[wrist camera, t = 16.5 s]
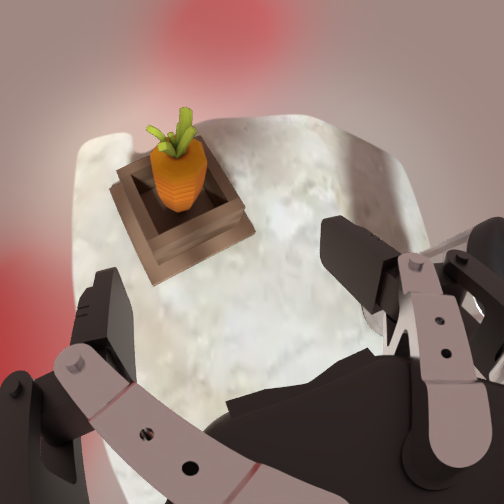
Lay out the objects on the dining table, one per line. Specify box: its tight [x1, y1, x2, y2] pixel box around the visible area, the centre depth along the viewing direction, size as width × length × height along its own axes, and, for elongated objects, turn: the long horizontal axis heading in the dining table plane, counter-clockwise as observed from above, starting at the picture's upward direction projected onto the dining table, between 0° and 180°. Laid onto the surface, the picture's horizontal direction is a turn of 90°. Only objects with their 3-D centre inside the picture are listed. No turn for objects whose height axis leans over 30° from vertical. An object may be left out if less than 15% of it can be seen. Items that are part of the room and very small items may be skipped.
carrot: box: [146, 107, 207, 213], centre depth 25 cm, size 5×5×15 cm
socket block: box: [109, 136, 256, 287], centre depth 30 cm, size 13×13×6 cm
